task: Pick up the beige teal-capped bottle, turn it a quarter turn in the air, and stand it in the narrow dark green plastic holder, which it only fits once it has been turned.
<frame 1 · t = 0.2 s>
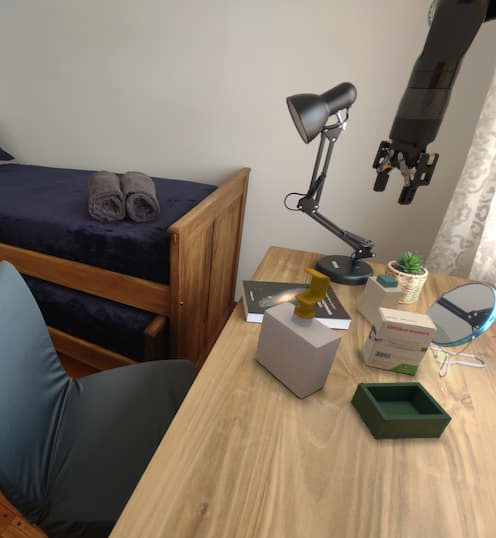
hand: (390, 197, 75), 28 cm above the table, tool pointing down, fingers open, 8 cm apart
soap bottle: (287, 373, 71), on the table
ink box: (386, 363, 73), on the table
beige teal-capped bottle: (372, 317, 86), on the table
holder: (392, 418, 61), on the table
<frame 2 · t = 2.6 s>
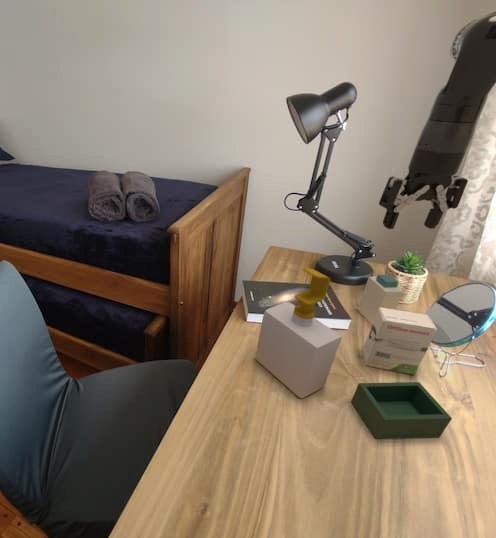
hand: (408, 227, 74), 23 cm above the table, tool pointing down, fingers open, 8 cm apart
nothing on the table moved.
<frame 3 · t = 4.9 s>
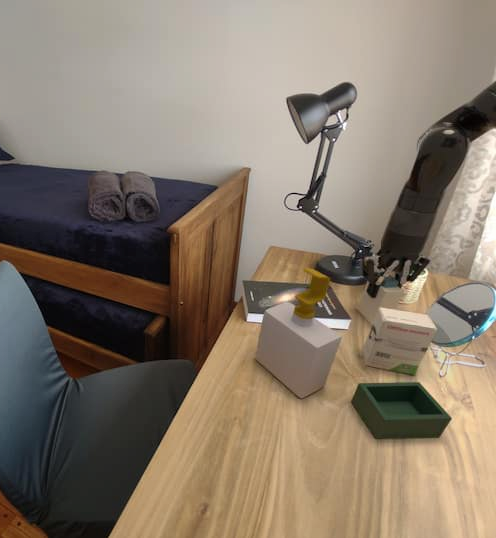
hand: (381, 295, 83), 6 cm above the table, tool pointing down, fingers closed on beige teal-capped bottle, 4 cm apart
beige teal-capped bottle: (372, 317, 86), on the table, touching gripper
everything else where it was.
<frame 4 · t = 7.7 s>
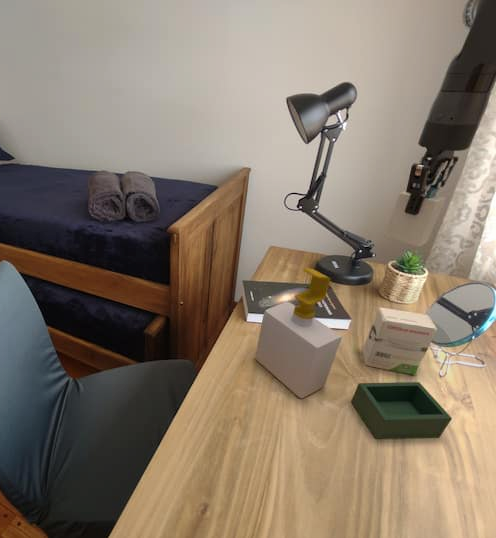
hand: (416, 210, 72), 27 cm above the table, tool pointing down, fingers closed on beige teal-capped bottle, 4 cm apart
beige teal-capped bottle: (405, 239, 75), point 21 cm above the table, touching gripper
everything else where it was.
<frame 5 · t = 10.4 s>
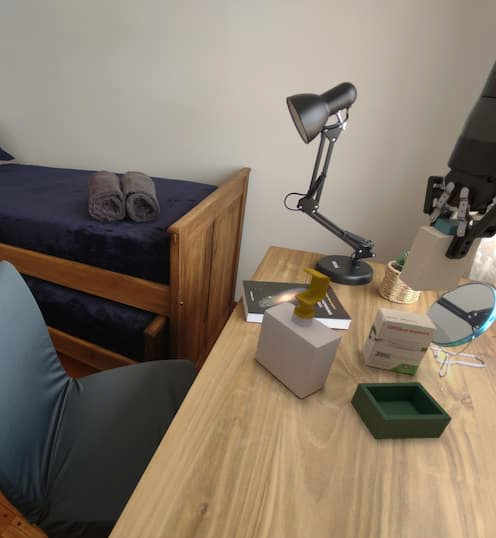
hand: (441, 250, 56), 28 cm above the table, tool pointing down, fingers closed on beige teal-capped bottle, 4 cm apart
beige teal-capped bottle: (425, 284, 59), point 21 cm above the table, touching gripper
everything else where it was.
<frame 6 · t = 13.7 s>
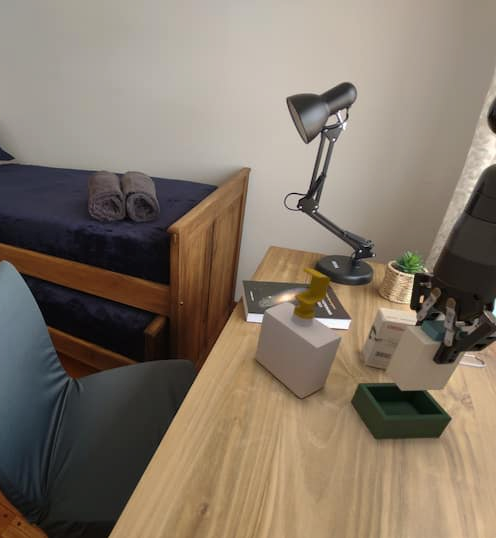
hand: (429, 351, 54), 16 cm above the table, tool pointing down, fingers closed on beige teal-capped bottle, 4 cm apart
beige teal-capped bottle: (413, 380, 57), point 9 cm above the table, touching gripper
everything else where it was.
when the fingers open (7 cm above the table, at t = 16.0 s): beige teal-capped bottle stays where it is, resting on holder.
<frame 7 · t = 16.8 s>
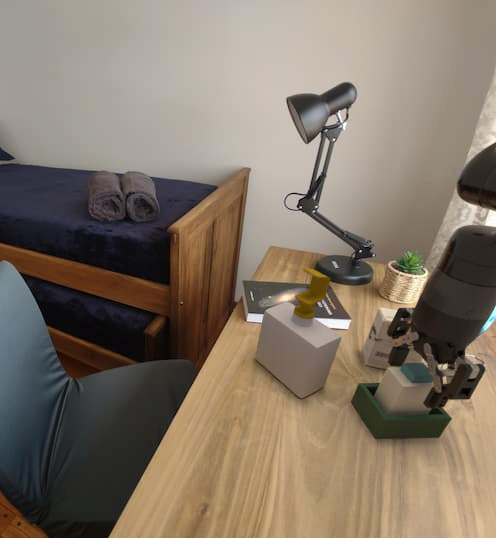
hand: (411, 384, 57), 9 cm above the table, tool pointing down, fingers open, 8 cm apart
beige teal-capped bottle: (394, 415, 61), point 1 cm above the table, touching holder
everything else where it was.
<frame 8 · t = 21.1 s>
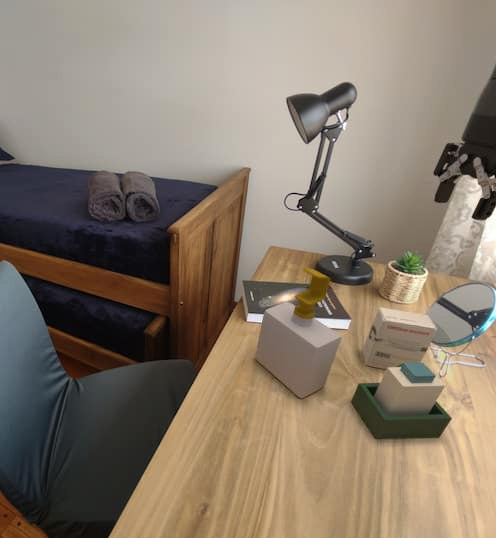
hand: (458, 210, 64), 30 cm above the table, tool pointing down, fingers open, 8 cm apart
nothing on the table moved.
at the end: beige teal-capped bottle 0.0 cm off-centre in the holder, point 0.8 cm above the holder's base; beige teal-capped bottle tilted 0°; the gripper is holding nothing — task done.
